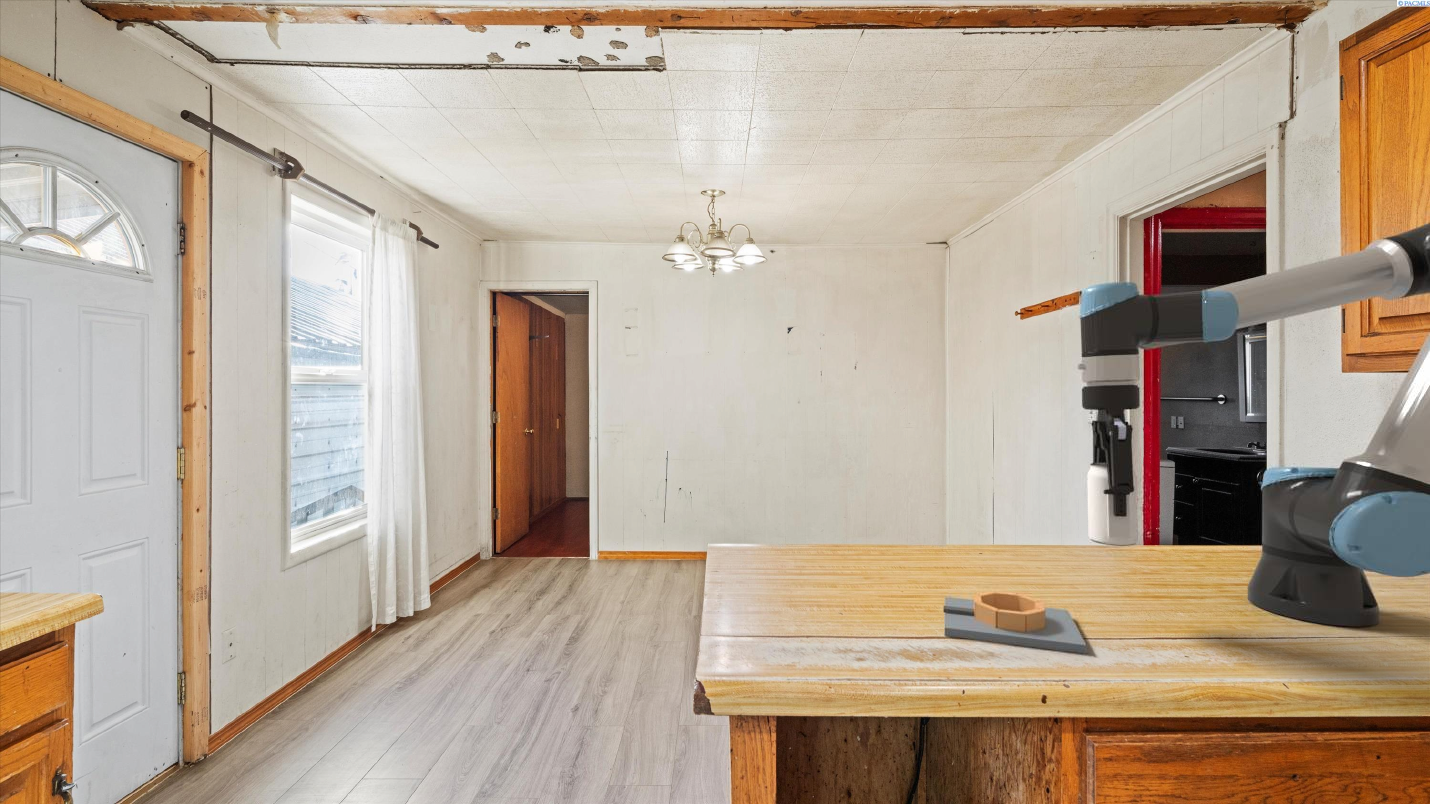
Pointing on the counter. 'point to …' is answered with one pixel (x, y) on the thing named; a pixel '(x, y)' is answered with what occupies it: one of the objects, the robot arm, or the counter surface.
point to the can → (1098, 508)
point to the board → (1012, 622)
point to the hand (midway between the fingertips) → (1112, 531)
